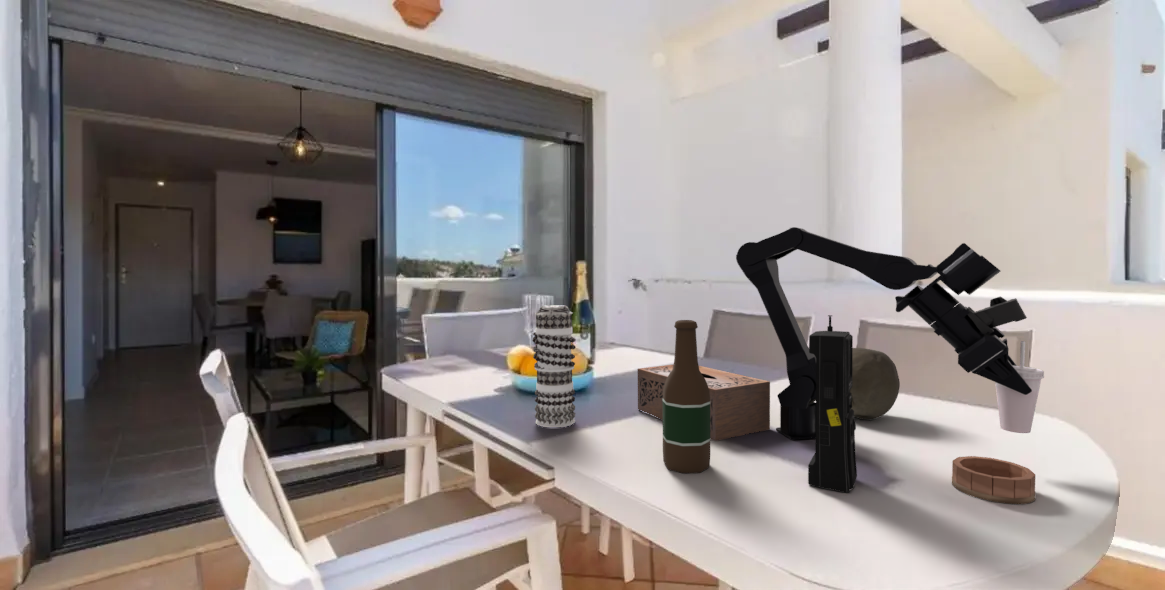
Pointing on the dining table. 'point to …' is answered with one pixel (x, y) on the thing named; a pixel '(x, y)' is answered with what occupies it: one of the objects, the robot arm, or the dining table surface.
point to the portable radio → (833, 412)
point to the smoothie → (1019, 399)
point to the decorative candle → (554, 366)
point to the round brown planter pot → (993, 480)
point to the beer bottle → (686, 407)
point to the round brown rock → (873, 383)
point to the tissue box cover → (715, 400)
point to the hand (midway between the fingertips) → (1028, 389)
